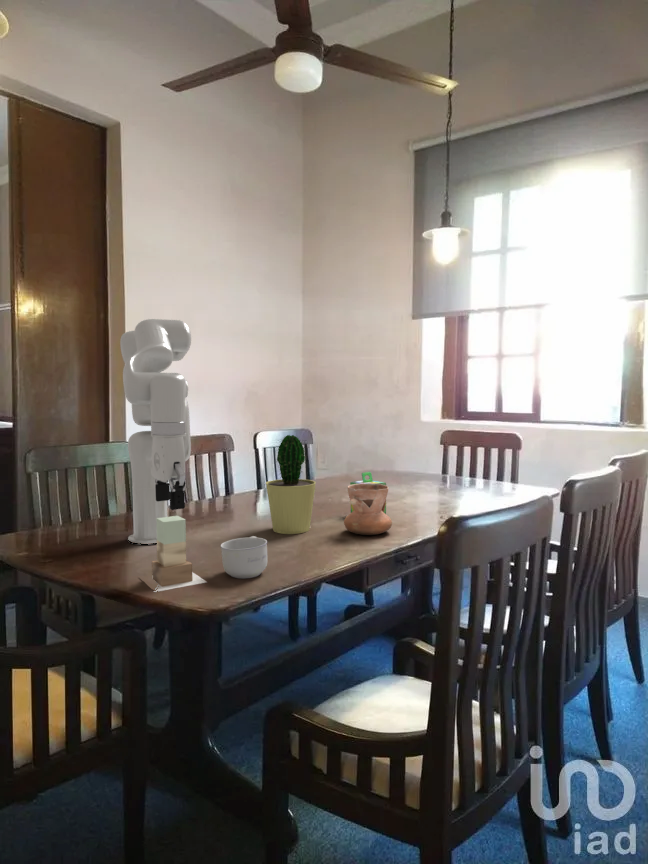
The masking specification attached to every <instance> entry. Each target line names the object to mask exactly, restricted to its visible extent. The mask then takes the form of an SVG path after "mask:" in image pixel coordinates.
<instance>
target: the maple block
mask: <svg viewBox="0 0 648 864" xmlns="http://www.w3.org/2000/svg"><path fill="white" fill-rule="evenodd" d="M186 542H187V540H186V541H185V542H178V543H172V544H165V545H164V544H163V543H161V542H159V541H158V540H157V544H156V561H157V562H158V563H160V564H161V565H163V566H164V567H167V566H173V565H179V564H185V563H186V560H187V546H186V545H187V544H186Z"/></svg>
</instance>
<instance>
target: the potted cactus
mask: <svg viewBox="0 0 648 864" xmlns="http://www.w3.org/2000/svg"><path fill="white" fill-rule="evenodd" d="M303 441H304V440H303V439H302V438H301V439H300V438H299V437H298V436H297V435H294V434H292V435H291V434H287V435H284V436H283V437H282V438H281V439H279V445H278V448H277V455H276V462H277V463H278V467H279V472H280V473H279V475H280V478H279V479H273V480H269V481H268V480H267V481H266V482H265V487H266V492H267V499H268V506H269V512H270V518H271V525H272V530H273V532H275V533H278V534H284V535H297V534H298V535H299V534H304V533H307V532H309V531H310V529H311V528H310V527H311V523H312V522H311V520H312V514H313V505H314V499H315V491H316V483H317V482H316V481H314V480H311V479H306V478H305V479H303V478H301V473H303V471H302V470H303V467H304V466H303V465H304V463H305V461H307V460H308V459H307V456H306V455H305V454H306V450H305V447H306V445H307V444H304V445H303ZM304 446H305V447H304Z"/></svg>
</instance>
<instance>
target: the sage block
mask: <svg viewBox="0 0 648 864" xmlns="http://www.w3.org/2000/svg"><path fill="white" fill-rule="evenodd" d="M186 520H187V519H186V518H183V517H181V516H179V515H173V516H171V515H170V516H167V517H163V518H156V522H157V540H158V541H159V542H161V543H163V544H164V545H165V544H172V543H178V542H185V541H186V542H187V534H186V533H187V531H186V530H187V528H186V523H187V522H186Z"/></svg>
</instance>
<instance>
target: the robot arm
mask: <svg viewBox="0 0 648 864" xmlns="http://www.w3.org/2000/svg"><path fill="white" fill-rule="evenodd" d="M190 329H191V328H190V327H189V326H188V324H187V323H186V322H185V321H183V320H181V319H179V320H178V319H161V318H160V319H159V318H157V319H156V318H151V319H150V318H148V319H144V320H141V321H139V322H138V324H137V325H136V326H135V327H134V330H129V331H126V332H124V333H122V335H121V337H120V340H119V341H120V342H119V343H120V345H119V346H120V352H121V356H122V360H123V362H124V366H123V370H122V381H123V383H122V384H123V391H124V396H125V398H126V400H127V402H129V404H131V415H132V421H134V424H135V425H138V426H141V427H150V430H142V431H138V432H135V433H133V434H131V436H129V437H128V440H127V450H128V451H127V452H128V456H129V462H130V467H131V469H130V470H131V479H132V480H131V481H132V482H131V484H132V485H131V486H132V487H131V488H132V489H131V490H132V516H133V517H132V519H133V534H131V535H129V536H128V537H127V538H128V539H127V541H128V540H129V541H131V542H135V543H147V544H148V543H157V522H156V518H163V517H168V501H169V509H170V510H171V511H174V510H175V511H176V510H182V509H185V507H186V505H185V504H186V501H185V499H186V497H185V496H186V495H185V491H186V487H185V486H186V481H185V480H186V475H187V474H186V462H187V461H188V460H189V459H190V458H191V452H192V443H191V424H190V423H191V422H190V421H191V419H190V408H189V403H188V400H187V397H188V395H189V383H188V381H187V379H186V378H185V377H184V375H183V374H181V373H178V372H164V371H166V370H167V369H168V368H169V367H170V366H171V365H172V363H173V362H177V361H182V360H183V359H184V357H185V356H186V354H187V353H188V351H189V350H190V348H191V345H192V334H191V330H190ZM129 541H128V542H129ZM148 545H149V544H148Z"/></svg>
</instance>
